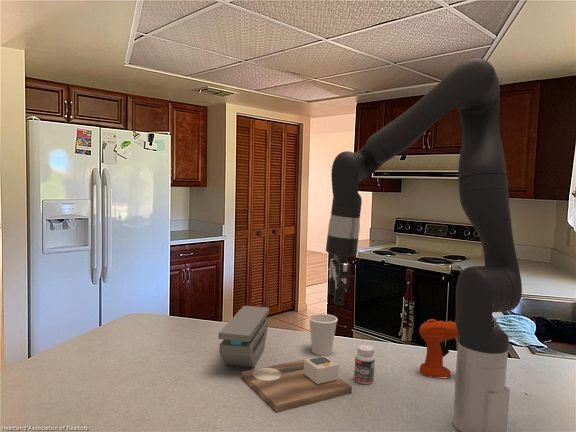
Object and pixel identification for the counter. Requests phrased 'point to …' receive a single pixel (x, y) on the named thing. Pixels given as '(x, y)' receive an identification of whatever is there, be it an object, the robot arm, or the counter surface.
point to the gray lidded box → (244, 337)
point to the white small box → (321, 369)
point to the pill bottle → (364, 364)
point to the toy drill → (436, 346)
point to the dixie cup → (322, 333)
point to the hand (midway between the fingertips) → (335, 299)
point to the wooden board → (291, 386)
